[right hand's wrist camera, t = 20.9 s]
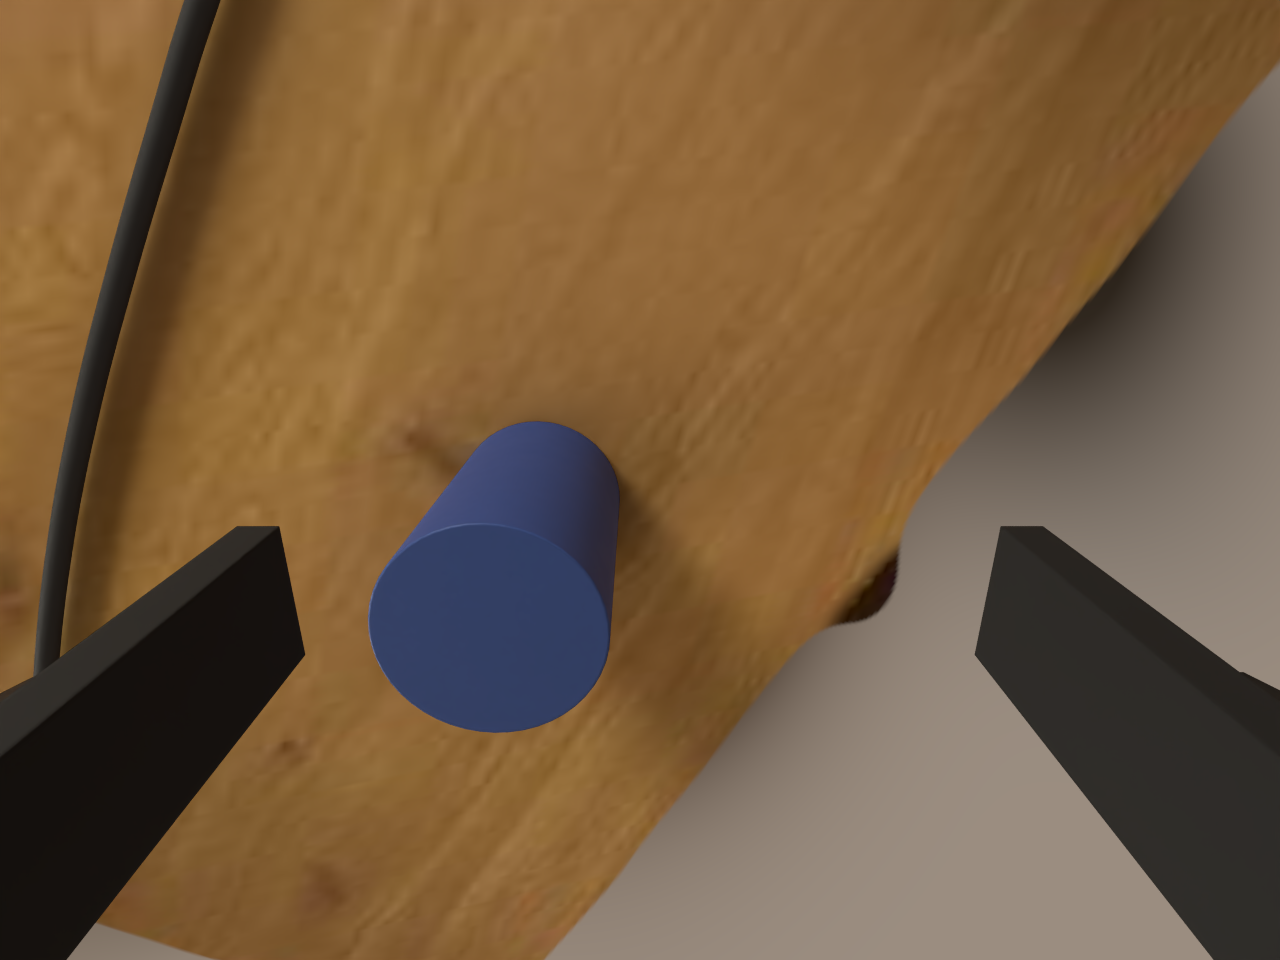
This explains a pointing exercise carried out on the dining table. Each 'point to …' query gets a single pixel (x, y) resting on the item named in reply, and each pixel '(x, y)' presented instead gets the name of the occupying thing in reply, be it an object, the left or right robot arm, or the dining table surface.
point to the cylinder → (505, 585)
